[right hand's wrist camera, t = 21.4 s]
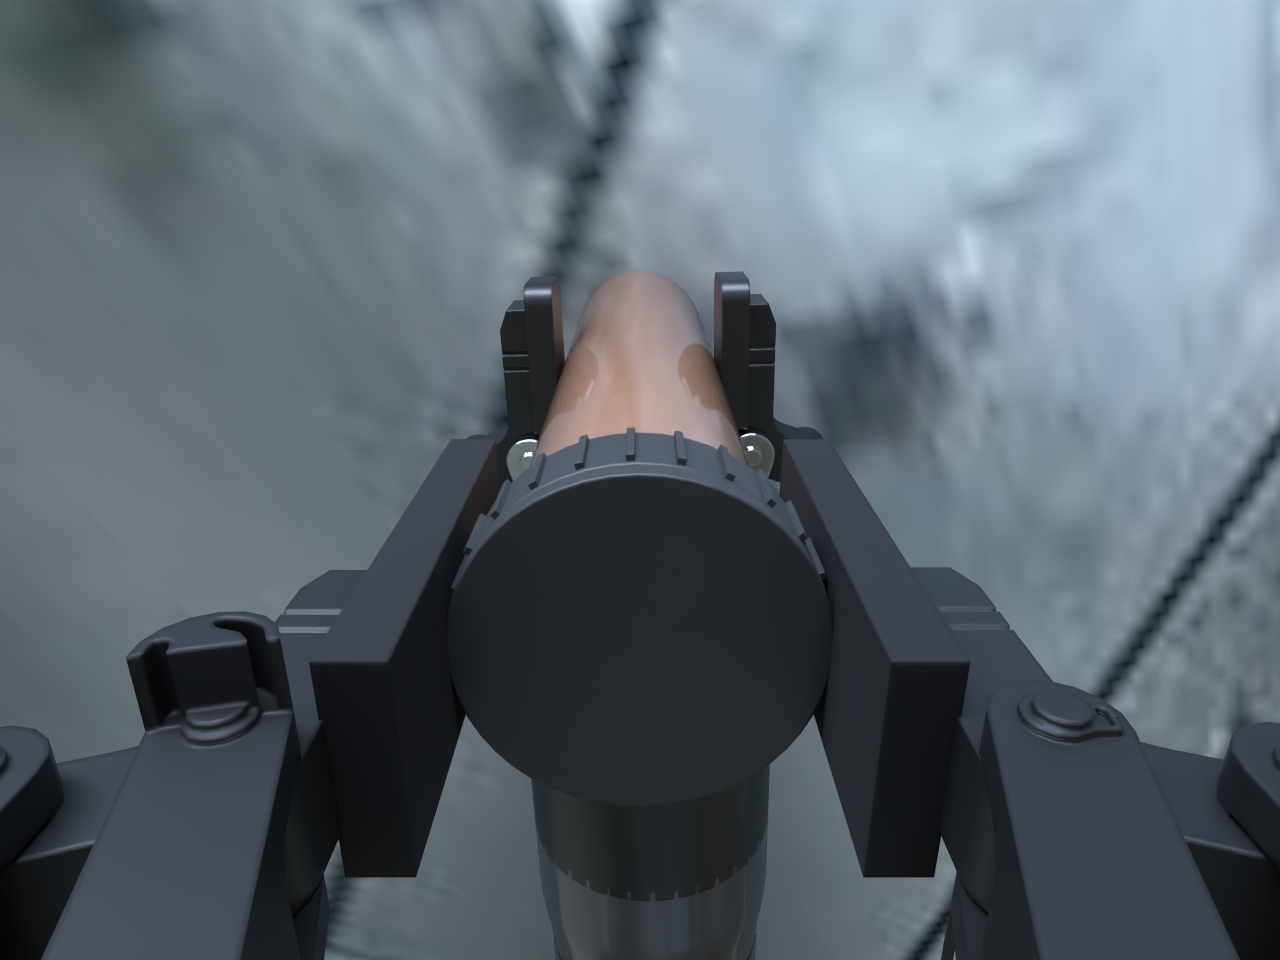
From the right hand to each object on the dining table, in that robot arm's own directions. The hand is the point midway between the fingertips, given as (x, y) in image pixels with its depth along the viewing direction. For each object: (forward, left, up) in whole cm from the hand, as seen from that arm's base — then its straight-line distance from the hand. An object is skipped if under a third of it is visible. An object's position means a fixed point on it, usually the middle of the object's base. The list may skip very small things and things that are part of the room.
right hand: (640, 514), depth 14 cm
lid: (0, 0, +4) cm, 4 cm away
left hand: (0, -3, -8) cm, 9 cm away
